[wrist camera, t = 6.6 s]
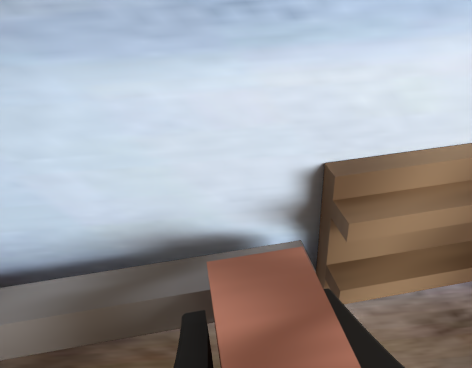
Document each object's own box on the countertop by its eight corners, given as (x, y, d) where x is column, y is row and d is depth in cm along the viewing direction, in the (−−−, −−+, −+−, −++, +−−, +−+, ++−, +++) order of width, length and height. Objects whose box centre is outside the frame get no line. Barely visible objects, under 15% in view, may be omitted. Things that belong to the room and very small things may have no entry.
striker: (294, 148, 13) (427, 345, 6) (289, 305, 17) (367, 518, 11) (-192, 211, 11) (-672, 564, 5) (-64, 368, 15) (-224, 666, 9)
